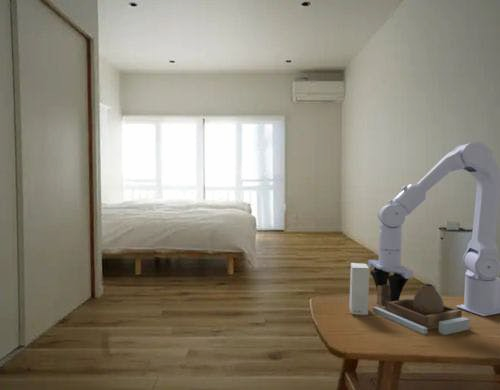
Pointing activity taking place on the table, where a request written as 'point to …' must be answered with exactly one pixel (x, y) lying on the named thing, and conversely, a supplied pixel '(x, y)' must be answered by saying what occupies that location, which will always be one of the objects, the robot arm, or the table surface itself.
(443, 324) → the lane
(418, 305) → the vase
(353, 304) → the skincare box
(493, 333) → the table surface
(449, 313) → the wooden handled frame
